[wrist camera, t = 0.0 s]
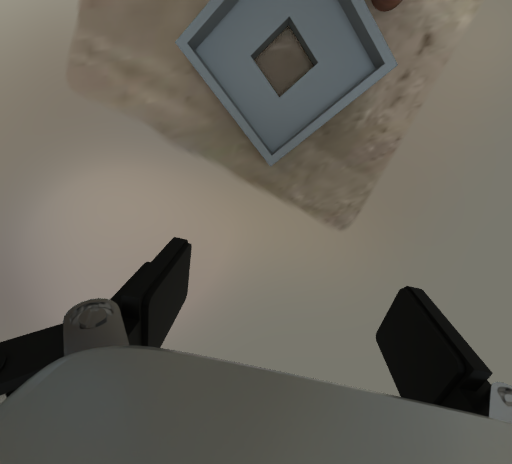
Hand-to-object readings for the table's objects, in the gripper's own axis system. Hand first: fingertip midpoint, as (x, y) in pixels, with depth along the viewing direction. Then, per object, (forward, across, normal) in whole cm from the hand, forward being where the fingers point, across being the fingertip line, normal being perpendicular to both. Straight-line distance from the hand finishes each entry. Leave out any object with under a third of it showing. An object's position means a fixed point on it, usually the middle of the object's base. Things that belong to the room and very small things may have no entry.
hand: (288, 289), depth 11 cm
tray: (+31, +3, -14) cm, 34 cm away
